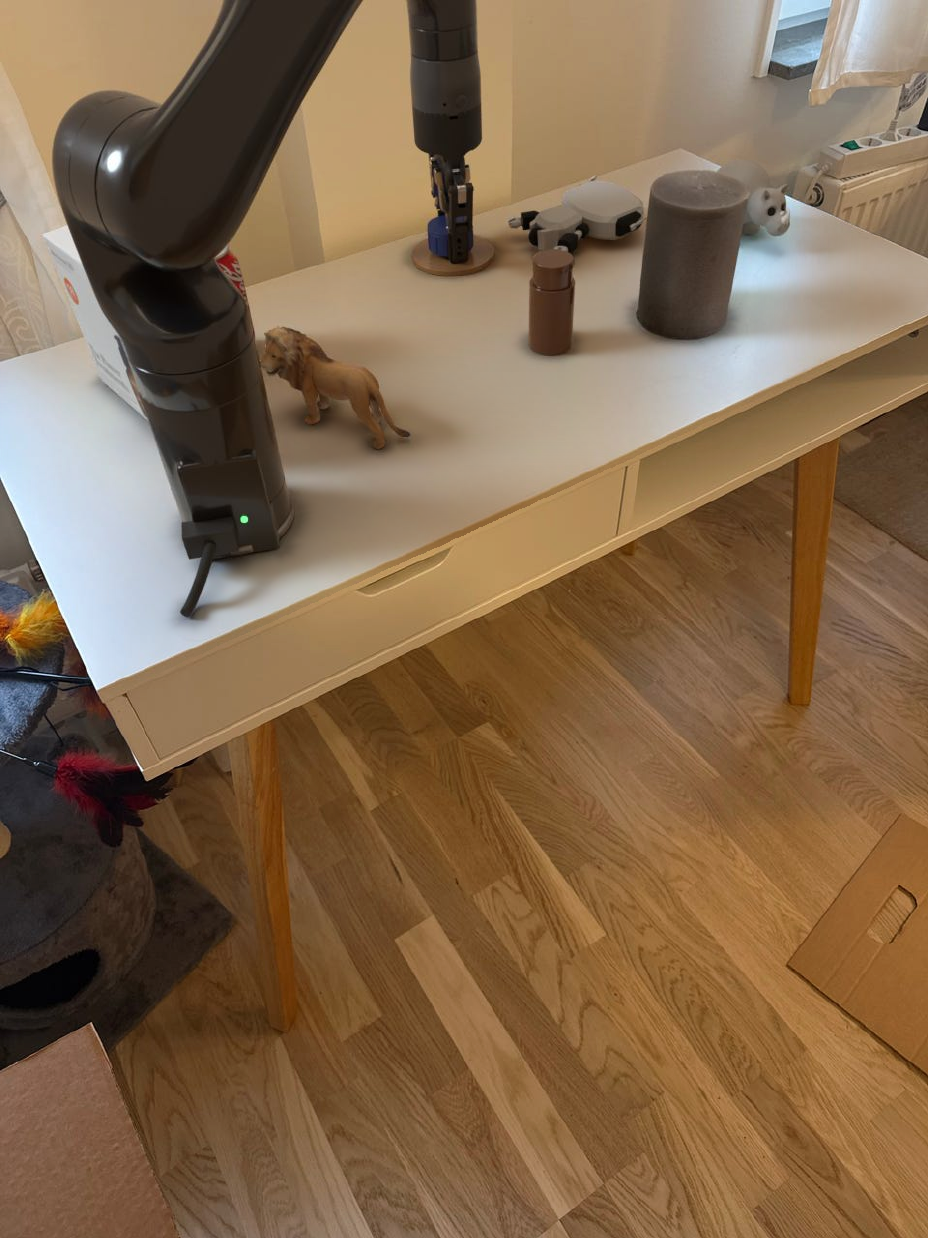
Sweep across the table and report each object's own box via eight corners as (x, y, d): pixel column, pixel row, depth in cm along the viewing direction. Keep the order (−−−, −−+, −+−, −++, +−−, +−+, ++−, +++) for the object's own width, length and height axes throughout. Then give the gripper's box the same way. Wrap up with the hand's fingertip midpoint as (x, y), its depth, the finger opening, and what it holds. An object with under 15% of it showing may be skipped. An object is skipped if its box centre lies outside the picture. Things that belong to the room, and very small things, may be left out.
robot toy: (560, 281, 109) (660, 238, 114) (559, 244, 106) (662, 201, 110) (502, 242, 117) (598, 203, 121) (500, 207, 113) (599, 168, 117)
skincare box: (95, 383, 96) (39, 231, 85) (142, 363, 99) (94, 213, 87) (200, 474, 85) (151, 314, 74) (250, 449, 88) (211, 290, 76)
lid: (462, 259, 110) (461, 237, 108) (421, 252, 111) (419, 230, 109) (479, 239, 113) (479, 217, 111) (440, 233, 114) (439, 211, 112)
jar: (577, 351, 97) (583, 264, 90) (535, 358, 97) (538, 272, 90) (563, 329, 100) (567, 244, 94) (522, 336, 100) (523, 251, 93)
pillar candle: (631, 335, 99) (646, 192, 88) (641, 291, 106) (656, 152, 95) (724, 344, 97) (751, 198, 86) (729, 298, 104) (755, 157, 93)
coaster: (502, 269, 110) (502, 264, 110) (420, 280, 109) (419, 276, 109) (483, 233, 117) (483, 228, 116) (405, 243, 116) (404, 238, 115)
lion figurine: (264, 422, 90) (244, 339, 84) (292, 393, 94) (276, 311, 87) (399, 456, 86) (389, 370, 79) (423, 424, 89) (417, 340, 83)
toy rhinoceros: (755, 267, 108) (770, 192, 102) (689, 228, 116) (699, 157, 109) (801, 251, 111) (819, 177, 104) (734, 214, 118) (747, 143, 112)
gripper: (400, 80, 104) (412, 229, 117) (424, 125, 95) (434, 283, 107) (465, 73, 105) (470, 221, 118) (496, 116, 96) (497, 274, 108)
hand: (453, 250), depth 112 cm, fingers closed on lid, 5 cm apart
